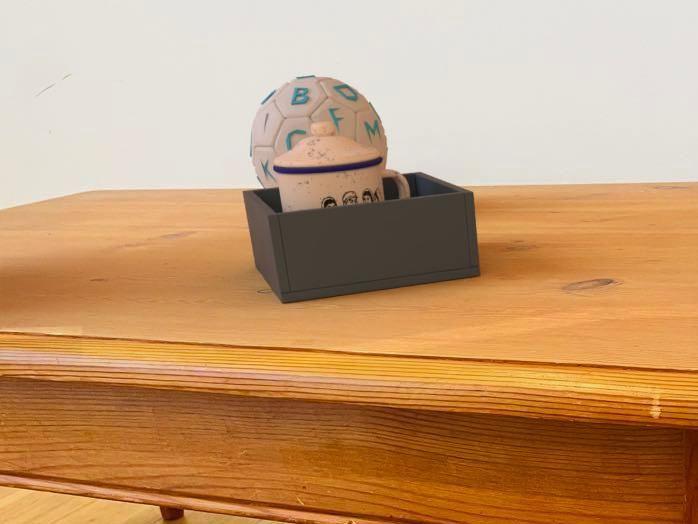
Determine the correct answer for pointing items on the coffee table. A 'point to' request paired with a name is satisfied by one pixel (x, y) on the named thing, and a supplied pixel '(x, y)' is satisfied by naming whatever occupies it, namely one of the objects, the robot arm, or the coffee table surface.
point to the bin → (365, 240)
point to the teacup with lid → (332, 172)
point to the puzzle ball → (310, 120)
